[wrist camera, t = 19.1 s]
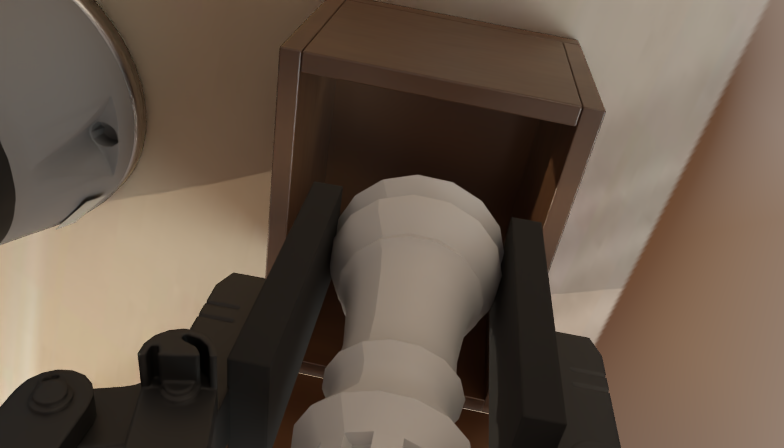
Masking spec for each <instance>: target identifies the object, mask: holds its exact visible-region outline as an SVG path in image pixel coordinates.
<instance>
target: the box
mask: <svg viewBox="0 0 784 448" xmlns="http://www.w3.org/2000/svg"><path fill="white" fill-rule="evenodd" d="M605 113H606V111H605V108H604V106H603V103H602V100H601V98H600V95H599V93H598V90H597V88H596V85H595V82H594V80H593V77H592V75H591V72H590V69H589V67H588V64H587V62H586V59H585V56H584V54H583V51H582V49H581V46H580V44H579V42H578V41H577V40H573V39H568V38H563V37H557V36H552V35H547V34H542V33H537V32H532V31H527V30H522V29H516V28H511V27H506V26H501V25H496V24H491V23H486V22H480V21H475V20H470V19H465V18H460V17H455V16H450V15H445V14H439V13H434V12H429V11H424V10H419V9H414V8H409V7H403V6H398V5H393V4H388V3H383V2H378V1H373V0H325V1H324V2H323V3H322V4H321V5H320V6H319V8H318V9H317V10H316V11H315V12H314V13H313V14H312V15H311V16H310V17H309V18H308V19H307V20H306V21H305V22H304V23H303V24H302V25H301V26H300V27H299V28H298V29H297V30H296V31H295V32H294V33H293V34H292V35H291V36H290V37H289V38H288V39H287V40H286V41H285V42H284V44H283V45H282V46H281V47H280V51H279V67H278V83H277V99H276V115H275V131H274V147H273V163H272V179H271V195H270V211H269V227H268V243H267V259H266V275H265V279H266V278H267V276H268V274H269V272H270V270H271V268H272V266H273V264H274V262H275V260H276V258H277V256H278V254H279V252H280V250H281V248H282V246H283V244H284V242H285V240H286V238H287V235H288V233H289V231H290V229H291V227H292V225H293V223H294V221H295V219H296V217H297V215H298V213H299V211H300V209H301V207H302V205H303V203H304V201H305V199H306V197H307V195H308V193H309V191H310V189H311V187H312V184H313V182H314V181H316V182H321V183H327V184H332V185H338V186H343V191H342V200H341V210H340V216H341V215H342V213H343V212H344V210H345V209H346V208H347V206H348V205H349V203H350V202H351V201H352V199H353V198H354V196H355V195H357V194H359V193H360V192H362V191H364V190H366V189H367V188H369V187H371V186H373V185H374V184H376V183H378V182H380V181H381V180H383V179H390V178H397V177H405V176H412V175H421V176H426V177H431V178H435V179H440V180H444V181H449V182H453V183H455V184H456V185H458V186H459V187H461V188H462V189H464V190H465V191H467V192H469V193H470V194H472V195H473V196H475V197H476V198H478V199H479V200H481V201H482V202H483V203H484V205H485V206H486V208H487V209H488V211H489V212H490V213H491V215H492V216H493V218H494V219H495V221H496V222H497V224H498V225H499V226H500V230H501V237H502V243H503V248H504V245H505V241H506V237H507V234H508V230H509V227H510V223H511V219H512V217H514V218H520V219H525V220H531V221H536V222H542V230H543V237H544V245H545V253H546V261H547V269H548V272H549V270H550V267H551V264H552V261H553V259H554V256H555V253H556V250H557V247H558V245H559V242H560V239H561V236H562V233H563V231H564V228H565V225H566V222H567V219H568V217H569V214H570V211H571V208H572V205H573V203H574V200H575V197H576V194H577V191H578V189H579V186H580V183H581V180H582V177H583V175H584V172H585V169H586V166H587V163H588V161H589V158H590V155H591V152H592V149H593V147H594V144H595V141H596V138H597V135H598V133H599V130H600V127H601V124H602V121H603V119H604V116H605ZM345 318H346V316H345V315H344V312H343V308H342V305H341V302H340V301H339V299H338V296H337V293H336V290H335V287H334V284H333V281H332V278H331V281H330V284H329V287H328V289H327V292H326V295H325V298H324V301H323V304H322V307H321V310H320V312H319V315H318V318H317V321H316V324H315V327H314V330H313V332H312V335H311V338H310V341H309V344H308V347H307V350H306V353H305V355H304V358H303V361H302V364H301V367H300V370H299V373H303V374H308V375H312V376H317V377H322V378H324V372H325V368H326V367H327V366H328V364H329V363H330V362H331V361H332V360H333V358H334V357H335V356H336V355H337V354H338V352H340V351H341V349H342V346H343V339H344V328H345ZM456 374H457V376H458V377H459V378H460V379H461V384H462V388H463V392H464V397H465V402H464V405H463V408H466V409H471V410H476V411H482V412H485V413H489V311H488V312H487V313H486V314H485V315H484V316H483V317H482V318H481V319H480V320H479V321H478V322H477V324H476V325H475V326H474V328H473V329H472V330H471V331H470V332H469V333H468V334H467V335H466V336H465V337H464V338H463V342H462V345H461V349H460V353H459V357H458V361H457V371H456Z"/></svg>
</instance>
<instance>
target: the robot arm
mask: <svg viewBox="0 0 784 448" xmlns="http://www.w3.org/2000/svg"><path fill="white" fill-rule="evenodd" d="M145 134H146V107H145V100H144V94H143V90H142V86H141V82H140V78H139V76H138V73H137V70H136V67H135V64H134V62H133V60H132V58H131V55H130V53H129V51H128V49H127V47H126V45H125V44H124V42H123V40H122V38H121V36H120V35H119V33H118V32H117V30H116V29H115V27H114V26H113V24H112V23H111V21H110V20H109V19H108V17H107V16H106V15H105V13H104V12H103V11H102V10H101V8H100V7H99V6H98V5H97V4H96V3H95V2H94V0H0V245H1V244H4V243H7V242H10V241H13V240H16V239H19V238H21V237H24V236H27V235H30V234H33V233H36V232H39V231H42V230H45V229H47V228H50V227H53V226H56V225H59V224H61V225H60V226H59V227H57V228H56V229H59V228H62V227H64V226H67V225H70V224H72V223H75V222H76V221H78V220H79V219H80V218H81V217H82V216H83V215H84V214H86V213H87V212H89V211H91V210H92V209H94V208H95V207H97V206H99V205H100V204H102V203H103V202H104V201H106V200H107V199H108V198H109V197H110V196H111V195H112V194H113V193H114V192H115V191H116V190H117V189H118V188H119V187H120V186H121V185H122V184H124V183H125V181H126V180H127V179H128V178H129V176H130V175H131V173H132V172H133V170H134V168H135V167H136V165H137V163H138V160H139V158H140V156H141V152H142V149H143V146H144V140H145ZM342 191H343V186H338V185H332V184H327V183H321V182H316V181H314V182H313V184H312V187H311V189H310V191H309V193H308V195H307V197H306V199H305V201H304V203H303V205H302V207H301V209H300V211H299V213H298V215H297V217H296V219H295V221H294V223H293V225H292V227H291V229H290V231H289V233H288V235H287V238H286V240H285V242H284V244H283V246H282V248H281V250H280V252H279V254H278V256H277V258H276V260H275V262H274V264H273V266H272V268H271V270H270V272H269V274H268V276H267V278H266V279H265V278H260V277H254V276H249V275H244V274H238V273H232V274H231V275H229V276H228V277H226V278H225V279H224V280H222V281H221V282H219V283H218V284H217V285H216V286H215V288H214V289H213V291H212V293H211V294H210V296H209V298H208V300H207V303H206V304H205V305H204V306H203V308H202V310H201V311H200V313H199V317H198V316H197V318H196V320H195V321H194V323H193V325H192V327H191V328H190V330H189V329H176V330H168V331H166V332H163V333H160V334H157V335H155V336H153V337H152V338H151V339H149V340H148V341H147V342H145V343H144V344H143V346H142V348H141V349H140V351H139V352H138V361H139V370H140V380H141V383H139V384H136V385H131V386H125V387H113V388H98V389H93V386H92V383H91V382H90V381H89V379H88V378H87V377H86V376H85V375H83V374H80V373H78V372H76V371H73V370H54V371H49V372H44V373H41V374H39V375H36V376H34V377H32V378H30V379H28V380H26V381H25V382H24V383H23V384H21V385H20V386H19V387H18V388H17V389H16V390H15V391H14V392H13V393H12V394H11V395H10V396H9V397H8V399H7V400H6V401H5V402H4V403H3V404H2V406H1V407H0V448H226V446H227V448H272V447H273V445H274V442H275V439H276V436H277V433H278V430H279V427H280V424H281V422H282V419H283V416H284V413H285V410H286V407H287V404H288V401H289V399H290V396H291V393H292V390H293V387H294V384H295V381H296V378H297V376H298V373H299V370H300V367H301V364H302V361H303V358H304V355H305V353H306V350H307V347H308V344H309V341H310V338H311V335H312V332H313V330H314V327H315V324H316V321H317V318H318V315H319V312H320V310H321V307H322V304H323V301H324V298H325V295H326V292H327V289H328V287H329V284H330V281H331V274H330V260H331V253H332V247H333V240H334V237H335V236H336V234H337V225H338V219H339V217H340V210H341V200H342ZM56 229H55V230H56ZM503 249H504V255H503V259H502V262H501V272H502V278H501V281H500V284H499V287H498V290H497V293H496V296H495V299H494V302H493V304H492V306H491V308H490V310H489V448H621V446H620V442H619V436H618V431H617V427H616V422H615V417H614V412H613V408H612V402H611V398H610V393H608V390H609V388H608V383H607V379H606V378H605V375H606V374H605V369H604V364H603V359H602V356H601V354H600V353H599V351H598V350H597V348H596V347H595V346H594V344H593V343H592V341H591V340H590V338H587V337H582V336H576V335H571V334H566V333H560V332H555V325H554V317H553V309H552V301H551V293H550V285H549V277H548V269H547V261H546V253H545V245H544V237H543V230H542V222H536V221H531V220H525V219H520V218H514V217H512V219H511V223H510V227H509V230H508V234H507V237H506V241H505V245H504V248H503Z"/></svg>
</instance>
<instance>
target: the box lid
mask: <svg viewBox="0 0 784 448" xmlns="http://www.w3.org/2000/svg"><path fill="white" fill-rule="evenodd" d="M322 384H323V379H322V378H318V377H313V376H308V375H304V374H299V373H298V376H297V378H296V381H295V384H294V387H293V390H292V393H291V396H290V399H289V401H288V404H287V407H286V410H285V413H284V416H283V419H282V422H281V424H280V427H279V430H278V433H277V436H276V439H275V442H274V445H273V447H272V448H291V443H292V435H293V428H294V424H295V423H296V422H297V421H298V420H299V419H300V417H301V416H302V415H303V414H304V413H305V412H306V411H307V409H308V408H309V407H310V406H311V405H313V404H315V403H317V402H319V401H321V400H323V399H325V395H324V393H323V390H322ZM454 424H455V425H456V426H457V427H458V428H459V430H460V431H461V432H462V433H463V434H464V435H465V437H466V438H467V439H468V440H469V442H470V446H471V448H489V414H485V413H481V412H476V411H472V410H467V409H462V411H461V414H460V417H459V419H458V420H457V421H456V422H455V423H454ZM226 448H227V446H226Z"/></svg>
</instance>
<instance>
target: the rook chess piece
mask: <svg viewBox="0 0 784 448" xmlns="http://www.w3.org/2000/svg"><path fill="white" fill-rule="evenodd" d="M503 255H504V249H503V243H502V237H501V230H500V226H499V225H498V224H497V222H496V221H495V219H494V218H493V216H492V215H491V213H490V212H489V211H488V209H487V208H486V206H485V205H484V203H483V202H482V201H481V200H479V199H478V198H476V197H475V196H473V195H472V194H470V193H469V192H467V191H465V190H464V189H462V188H461V187H459V186H458V185H456V184H455V183H453V182H449V181H444V180H440V179H435V178H431V177H426V176H421V175H412V176H405V177H397V178H390V179H383V180H381V181H380V182H378V183H376V184H374V185H373V186H371V187H369V188H367V189H366V190H364V191H362V192H360V193H359V194H357V195H355V196H354V198H353V199H352V201H351V202H350V203H349V205H348V206H347V208H346V209H345V210H344V212H343V213H342V215H341V216H340V217H339V219H338V225H337V234H336V236H335V237H334V240H333V247H332V253H331V260H330V274H331V278H332V281H333V284H334V287H335V290H336V293H337V296H338V299H339V301H340V302H341V305H342V308H343V312H344V315H345V316H346V318H345V328H344V339H343V346H342V349H341V351H340V352H338V354H337V355H336V356H335V357H334V358H333V360H332V361H331V362H330V363H329V364H328V366H327V367H326V368H325V372H324V378H323V384H322V390H323V393H324V395H325V399H323V400H321V401H319V402H317V403H315V404H313V405H311V406H310V407H309V408H308V409H307V411H306V412H305V413H304V414H303V415H302V416H301V417H300V419H299V420H298V421H297V422H296V423H295V424H294V428H293V435H292V443H291V448H471V446H470V442H469V440H468V439H467V438H466V437H465V435H464V434H463V433H462V432H461V431H460V430H459V428H458V427H457V426H456V425H455V424H454V423H455V422H456V421H457V420H458V419H459V417H460V414H461V411H462V408H463V405H464V402H465V397H464V392H463V388H462V384H461V379H460V378H459V377H458V376H457V374H456V371H457V361H458V357H459V353H460V349H461V345H462V342H463V338H464V337H465V336H466V335H467V334H468V333H469V332H470V331H471V330H472V329H473V328H474V326H475V325H476V324H477V322H478V321H479V320H480V319H481V318H482V317H483V316H484V315H485V314H486V313H487V312H488V311H489V310H490V308H491V306H492V304H493V302H494V299H495V296H496V293H497V290H498V287H499V284H500V281H501V278H502V272H501V262H502V259H503Z"/></svg>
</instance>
